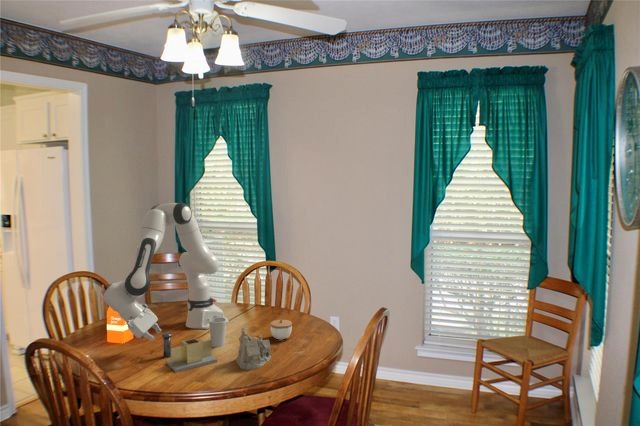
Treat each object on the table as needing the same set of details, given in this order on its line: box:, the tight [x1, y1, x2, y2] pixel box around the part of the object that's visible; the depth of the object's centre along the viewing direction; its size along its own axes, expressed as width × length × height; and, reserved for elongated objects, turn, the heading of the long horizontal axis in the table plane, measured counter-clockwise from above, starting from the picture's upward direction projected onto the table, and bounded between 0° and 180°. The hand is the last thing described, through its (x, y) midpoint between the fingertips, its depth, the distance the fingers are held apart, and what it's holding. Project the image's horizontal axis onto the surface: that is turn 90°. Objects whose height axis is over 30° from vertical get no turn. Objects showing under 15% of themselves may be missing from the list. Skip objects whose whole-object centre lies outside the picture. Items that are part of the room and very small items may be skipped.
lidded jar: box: [269, 319, 293, 340], centre depth 225 cm, size 11×11×9 cm
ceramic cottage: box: [235, 326, 272, 371], centre depth 196 cm, size 16×16×15 cm
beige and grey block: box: [170, 337, 213, 365], centre depth 193 cm, size 18×7×8 cm, turn 128°
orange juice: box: [106, 305, 134, 344], centre depth 219 cm, size 8×9×20 cm
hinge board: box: [165, 355, 218, 373], centre depth 194 cm, size 18×11×1 cm, turn 128°
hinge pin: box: [161, 332, 173, 359], centre depth 200 cm, size 4×4×10 cm
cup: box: [209, 317, 227, 348], centre depth 215 cm, size 8×8×12 cm
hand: (157, 336), depth 200 cm, fingers open, 8 cm apart
